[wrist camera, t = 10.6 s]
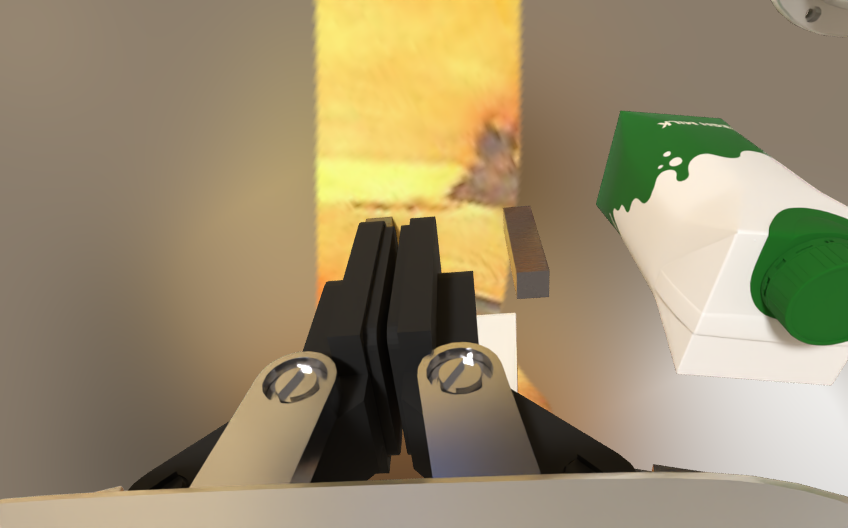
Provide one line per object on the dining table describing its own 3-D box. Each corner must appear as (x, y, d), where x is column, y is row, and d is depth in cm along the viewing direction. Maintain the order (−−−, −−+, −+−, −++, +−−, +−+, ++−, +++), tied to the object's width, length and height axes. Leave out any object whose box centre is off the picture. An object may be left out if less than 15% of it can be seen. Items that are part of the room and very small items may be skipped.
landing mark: (515, 312, 46) (515, 314, 46) (517, 397, 52) (517, 398, 51) (399, 320, 47) (399, 321, 47) (412, 402, 52) (412, 404, 52)
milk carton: (739, 105, 37) (992, 262, 20) (694, 224, 41) (867, 433, 24) (609, 95, 37) (751, 244, 20) (579, 215, 41) (673, 418, 24)
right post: (530, 205, 41) (549, 270, 33) (530, 229, 42) (548, 296, 34) (503, 208, 41) (516, 272, 34) (503, 231, 42) (517, 299, 35)
